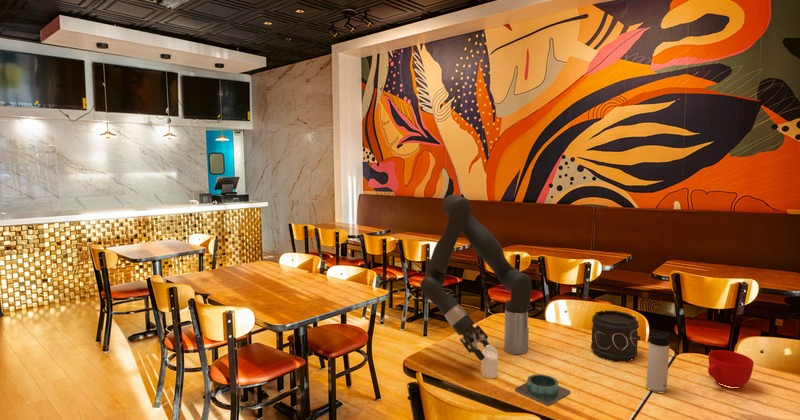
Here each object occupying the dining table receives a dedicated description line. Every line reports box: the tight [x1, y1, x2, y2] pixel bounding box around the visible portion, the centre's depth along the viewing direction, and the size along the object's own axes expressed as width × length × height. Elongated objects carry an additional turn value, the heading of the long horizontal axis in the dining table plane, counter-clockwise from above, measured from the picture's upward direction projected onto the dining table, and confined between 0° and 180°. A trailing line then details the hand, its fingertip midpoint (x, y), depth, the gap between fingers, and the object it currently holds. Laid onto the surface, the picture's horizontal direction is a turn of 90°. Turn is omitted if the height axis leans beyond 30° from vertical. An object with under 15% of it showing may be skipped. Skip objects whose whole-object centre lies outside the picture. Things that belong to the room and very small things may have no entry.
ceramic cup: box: [707, 349, 754, 388], centre depth 169 cm, size 13×17×10 cm
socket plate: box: [514, 374, 571, 407], centre depth 165 cm, size 13×13×4 cm
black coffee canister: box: [590, 309, 641, 362], centre depth 196 cm, size 18×18×16 cm
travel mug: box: [645, 331, 672, 393], centre depth 166 cm, size 6×7×20 cm
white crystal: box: [480, 344, 499, 379], centre depth 177 cm, size 6×12×6 cm
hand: (487, 355), depth 177 cm, fingers open, 8 cm apart
